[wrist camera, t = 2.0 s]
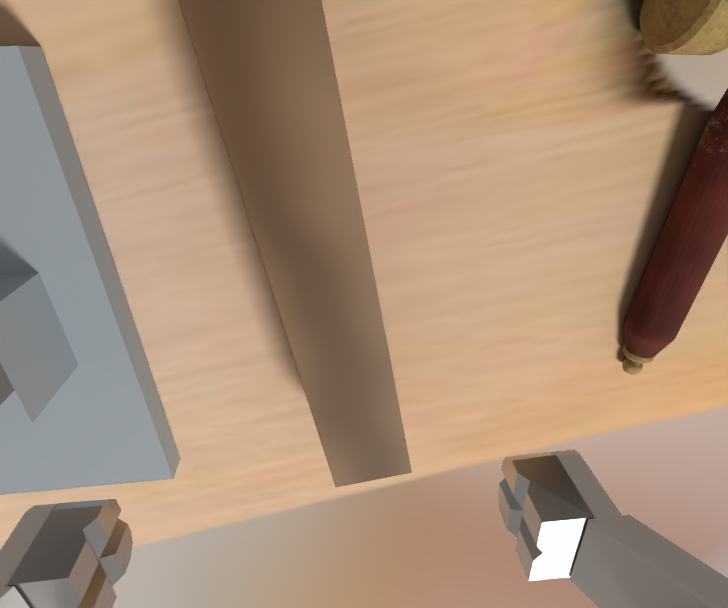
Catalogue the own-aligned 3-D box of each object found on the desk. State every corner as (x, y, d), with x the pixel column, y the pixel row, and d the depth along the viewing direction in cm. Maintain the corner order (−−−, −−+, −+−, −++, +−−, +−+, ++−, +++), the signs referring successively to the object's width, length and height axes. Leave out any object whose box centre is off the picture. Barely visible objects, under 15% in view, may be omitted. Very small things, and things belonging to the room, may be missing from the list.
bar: (312, -33, 17) (309, -66, 12) (397, 406, 27) (411, 472, 23) (207, -10, 17) (167, -35, 12) (333, 419, 27) (335, 487, 23)
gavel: (737, 396, 25) (566, 403, 24) (681, 346, 29) (532, 350, 28) (1065, -104, 14) (765, -124, 13) (902, -77, 17) (663, -91, 17)
